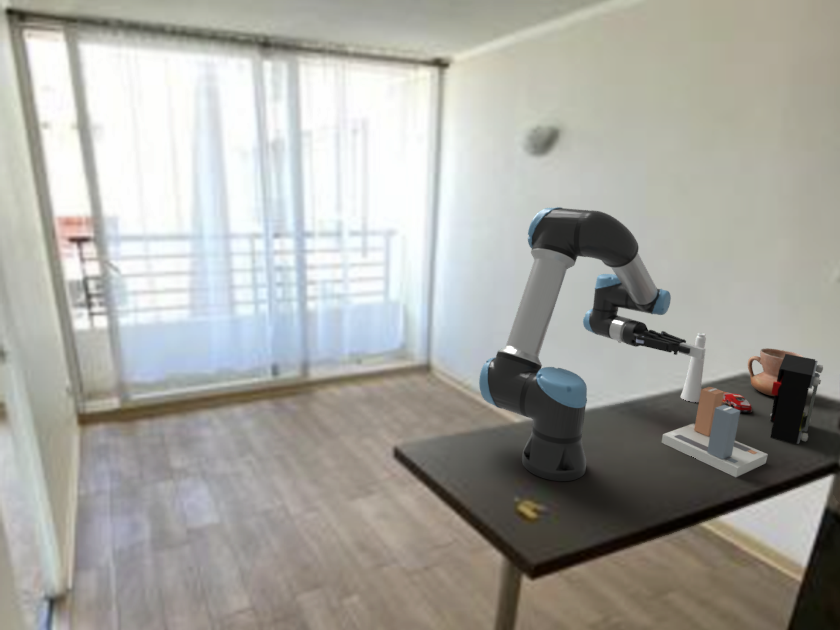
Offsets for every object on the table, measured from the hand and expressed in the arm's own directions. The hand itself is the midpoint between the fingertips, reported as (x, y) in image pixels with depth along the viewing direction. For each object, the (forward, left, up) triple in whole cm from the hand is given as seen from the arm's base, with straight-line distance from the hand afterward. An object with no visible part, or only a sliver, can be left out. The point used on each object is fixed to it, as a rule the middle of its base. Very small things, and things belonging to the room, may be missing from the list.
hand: (703, 354), depth 150 cm
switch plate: (+7, -8, -23) cm, 26 cm away
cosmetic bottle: (-6, +28, -24) cm, 37 cm away
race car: (+6, +32, -24) cm, 41 cm away
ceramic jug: (+14, +54, -24) cm, 61 cm away
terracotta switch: (+4, -2, -21) cm, 21 cm away
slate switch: (+9, -13, -21) cm, 26 cm away
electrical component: (+21, +22, -24) cm, 39 cm away
